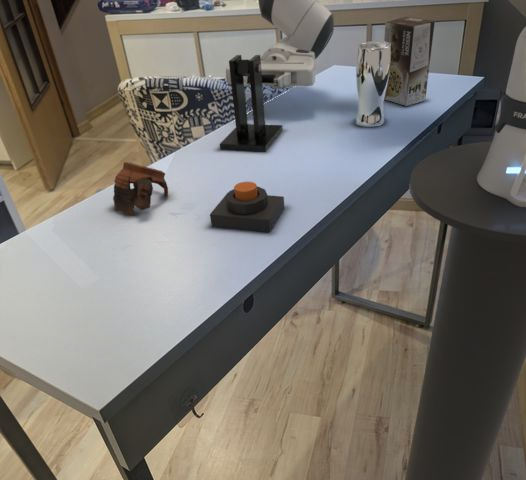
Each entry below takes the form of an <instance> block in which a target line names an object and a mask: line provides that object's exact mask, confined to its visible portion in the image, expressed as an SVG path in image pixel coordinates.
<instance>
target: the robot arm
mask: <svg viewBox="0 0 526 480" xmlns="http://www.w3.org/2000/svg"><path fill="white" fill-rule="evenodd" d="M258 7H259V12H260V15H261V17H262V19H264V20H265V21H267V22H268V23H270V24H271V25H273V26H274V27H276V28H277V29H278V30H279V31H280V32H281V33H283V34H284V35H285V37H283V38H281V39H279V40H278V41H276V43H275V44H272V45H271V46H270V47H269V48H267V49H266V50H265V51H264V52H263V53H262V54H261V55H260V58H261V72H262V74H274V75H276V77H275V78H274V83H262V86H268V87H270V88H271V89H274V90H282V89H285V88H291V87H312V86H313V85H315V83H316V60H317V58H318V57H319V56H320V55H321V54H322V53H323V51H324V50H325V48H326V47H327V45H328V44H329V42H330V40H331V38H332V36H333V34H334V29H335V20H334V14H333V13H332V12H331V11H330V10H329V9H328V8H327V7H326V6H325V5H324V4H322V3H321V1H319V0H258ZM225 79H226V83H227V85H230V86H232V85H231V76H230V67H229V65H227V66H226V67H225ZM243 79H244V88H249V87H250V83H248V76H243ZM494 126H495V127H494V129H495V132H494V136H493V139H492V140H491V141H492V144H491V147H490V150H489V152H488V155H487V157H486V160H485V162H484V164H483V166H482V168H481V170H480V172H479V173H478V175H477V182H478V184H479V185H480V186H481V187H482V188H483V189H485V190H486V191H488V192H490V193H492V194H495V195H497V196H500V197H503V198H505V199H507V200H509V201H510V202H511V203H513V204H514V205H516V206H519V207H526V26H525V27H524V28H523V29H522V30H521V32H520V33H519V36H518V37H517V40H516V43H515V47H514V52H513V56H512V62H511V67H510V71H509V76H508V80H507V84H506V89H504V91H502V94H501V97H500V100H499V104H498V107H497V112H496V117H495V123H494Z"/></svg>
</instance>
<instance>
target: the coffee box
mask: <svg viewBox="0 0 526 480" xmlns="http://www.w3.org/2000/svg"><path fill="white" fill-rule="evenodd" d="M435 23H436V20H432V19H425V18H418V17H411V16H403V17H399V18H395V19H393V20H389V21H385V23H384V24H385V25H384V40H383V41H385V42H389V43H391V68H390V76H389V81H388V86H387V90H386V94H385V98H384V101H388V102H391V103H395V104H398V105H402V106H405V107H408V106H412V105H415V104H418V103H423V102H425V101H426V98H427V91H428V82H429V72H430V64H431V57H432V48H433V39H434V32H435Z"/></svg>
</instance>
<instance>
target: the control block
mask: <svg viewBox="0 0 526 480" xmlns="http://www.w3.org/2000/svg"><path fill="white" fill-rule="evenodd" d="M257 194H258V196H257V198H255V199H253V200H248V201H240V200H237V199H236V198H235V191H234V188H233V189H231V190H229V191H228V192H227V193H226V194H225V195H224V196H223V198H222V199H221V200H220V201H219V202H218V204H217V205H216V206H215V208H213V210H212V211H211V212H210V213H209V218H210V224H211V227H214V228H215V227H216V228H225V229H236V230H243V231H244V230H245V231H254V232H265V233H271V231H272V230H273V228H274V227H275V225H276V224H277V221H279V218H280V217H281V215H282V214H283V211H284V210H285V197H284V196H282V195H281V196H280V195H268V192H267V191H266V189H265V188H263V187H261V186H258V185H257Z"/></svg>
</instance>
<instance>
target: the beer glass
mask: <svg viewBox="0 0 526 480" xmlns="http://www.w3.org/2000/svg"><path fill="white" fill-rule="evenodd" d="M355 63H356V65H355V80H356V82H355V83H356V90H357V98H358V109H357V114H356V119H355V124H356V125H358V126H360V127H364V128H374V127H379V126H381V125H383V124H384V123H385V115H384V105H385V99H384V98H385V94H386V90H387V86H388V81H389V76H390V68H391V43H389V42H385V41H384V40H371V41H365V42H362V43H359V44H358V45H357V54H356V62H355Z"/></svg>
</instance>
